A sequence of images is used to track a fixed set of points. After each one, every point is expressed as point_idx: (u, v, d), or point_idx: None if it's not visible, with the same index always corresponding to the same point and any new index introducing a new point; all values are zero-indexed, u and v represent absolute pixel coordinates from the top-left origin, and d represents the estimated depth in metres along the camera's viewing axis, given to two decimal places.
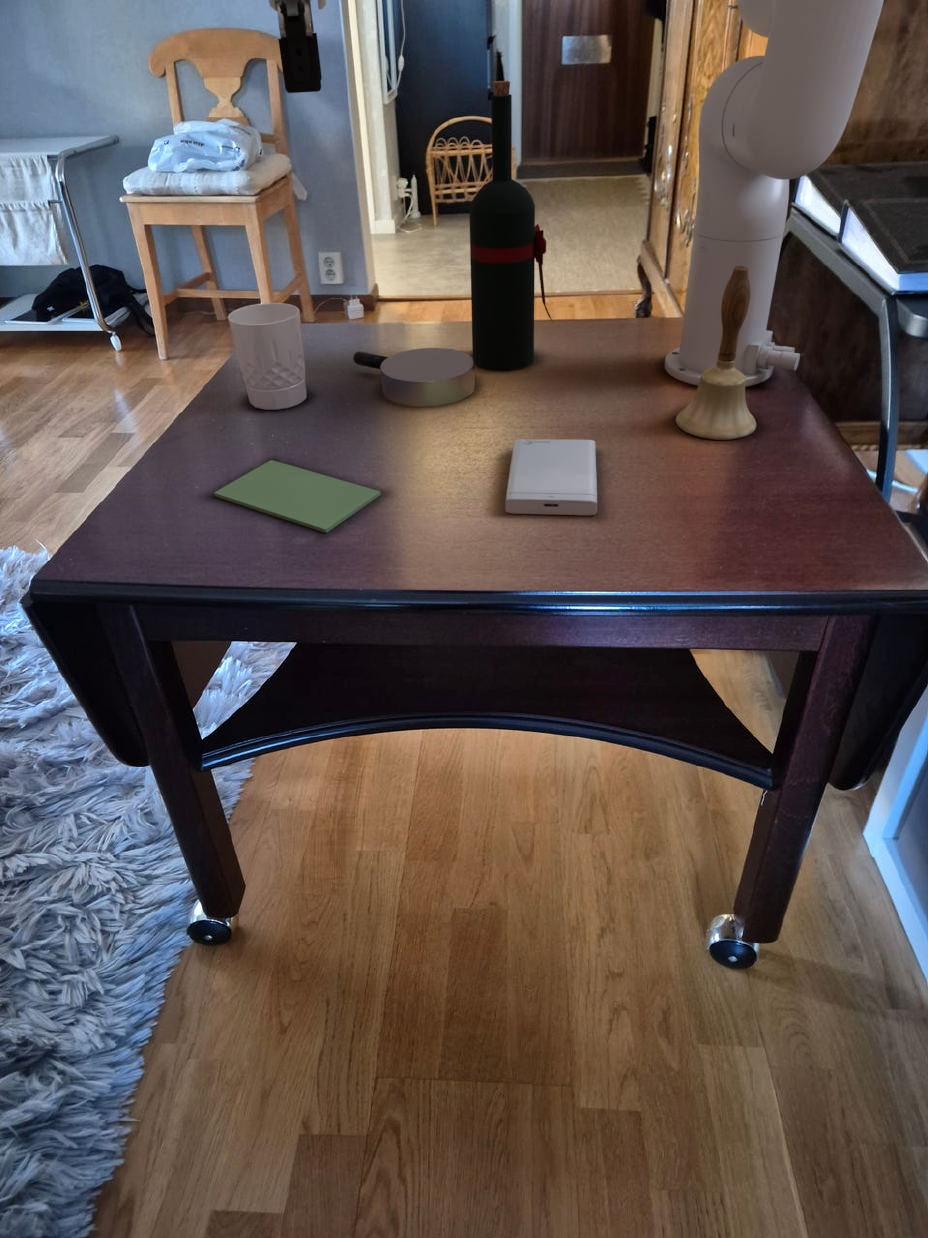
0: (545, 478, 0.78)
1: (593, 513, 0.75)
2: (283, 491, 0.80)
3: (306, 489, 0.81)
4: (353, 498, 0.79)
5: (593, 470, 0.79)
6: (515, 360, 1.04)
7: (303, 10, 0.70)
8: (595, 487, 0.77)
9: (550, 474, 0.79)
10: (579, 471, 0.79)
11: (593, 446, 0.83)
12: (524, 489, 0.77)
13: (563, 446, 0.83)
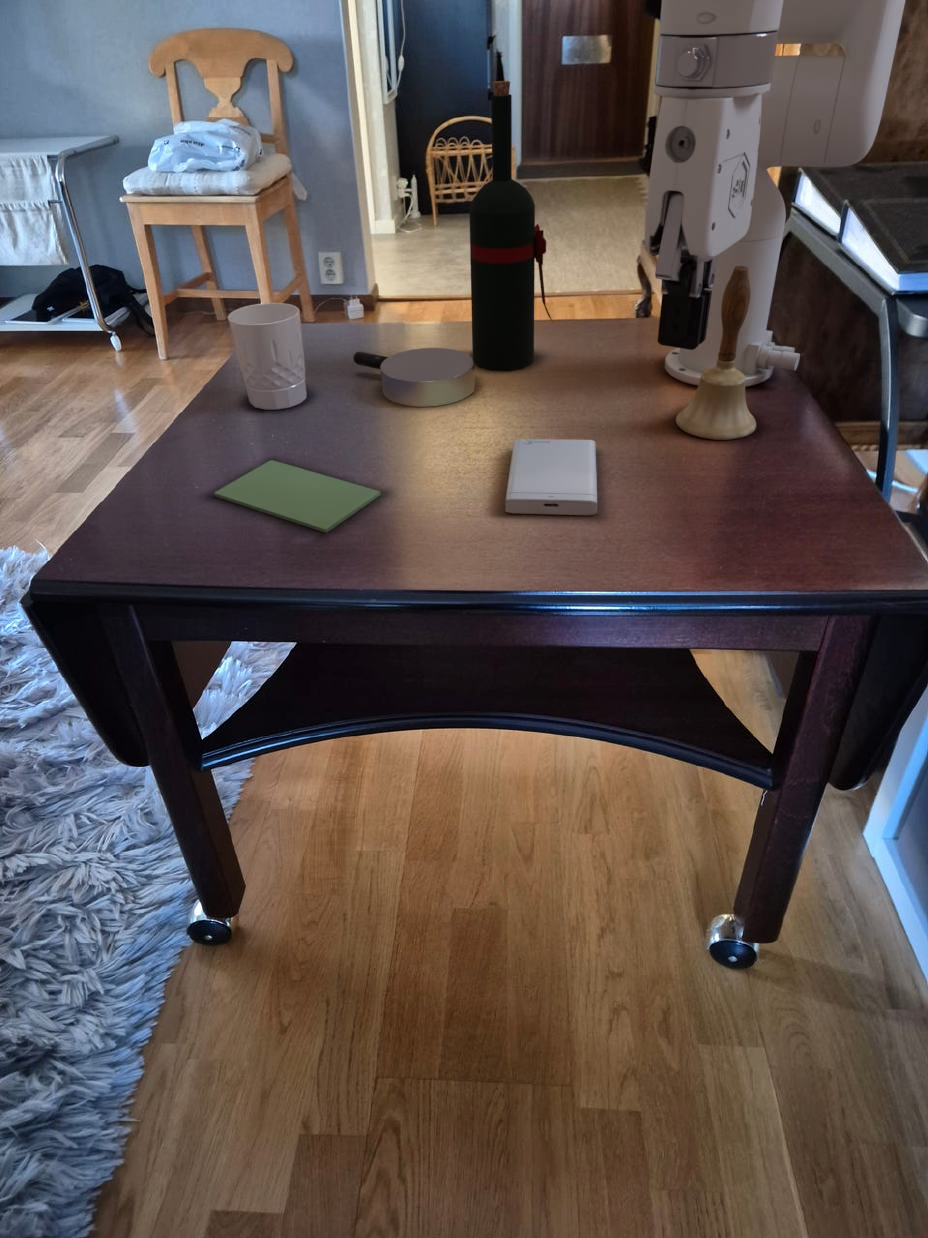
0: (545, 478, 0.78)
1: (593, 513, 0.75)
2: (283, 491, 0.80)
3: (306, 489, 0.81)
4: (353, 498, 0.79)
5: (593, 470, 0.79)
6: (515, 360, 1.04)
7: (686, 276, 0.61)
8: (595, 487, 0.77)
9: (550, 474, 0.79)
10: (579, 470, 0.79)
11: (593, 446, 0.83)
12: (524, 489, 0.77)
13: (563, 446, 0.83)
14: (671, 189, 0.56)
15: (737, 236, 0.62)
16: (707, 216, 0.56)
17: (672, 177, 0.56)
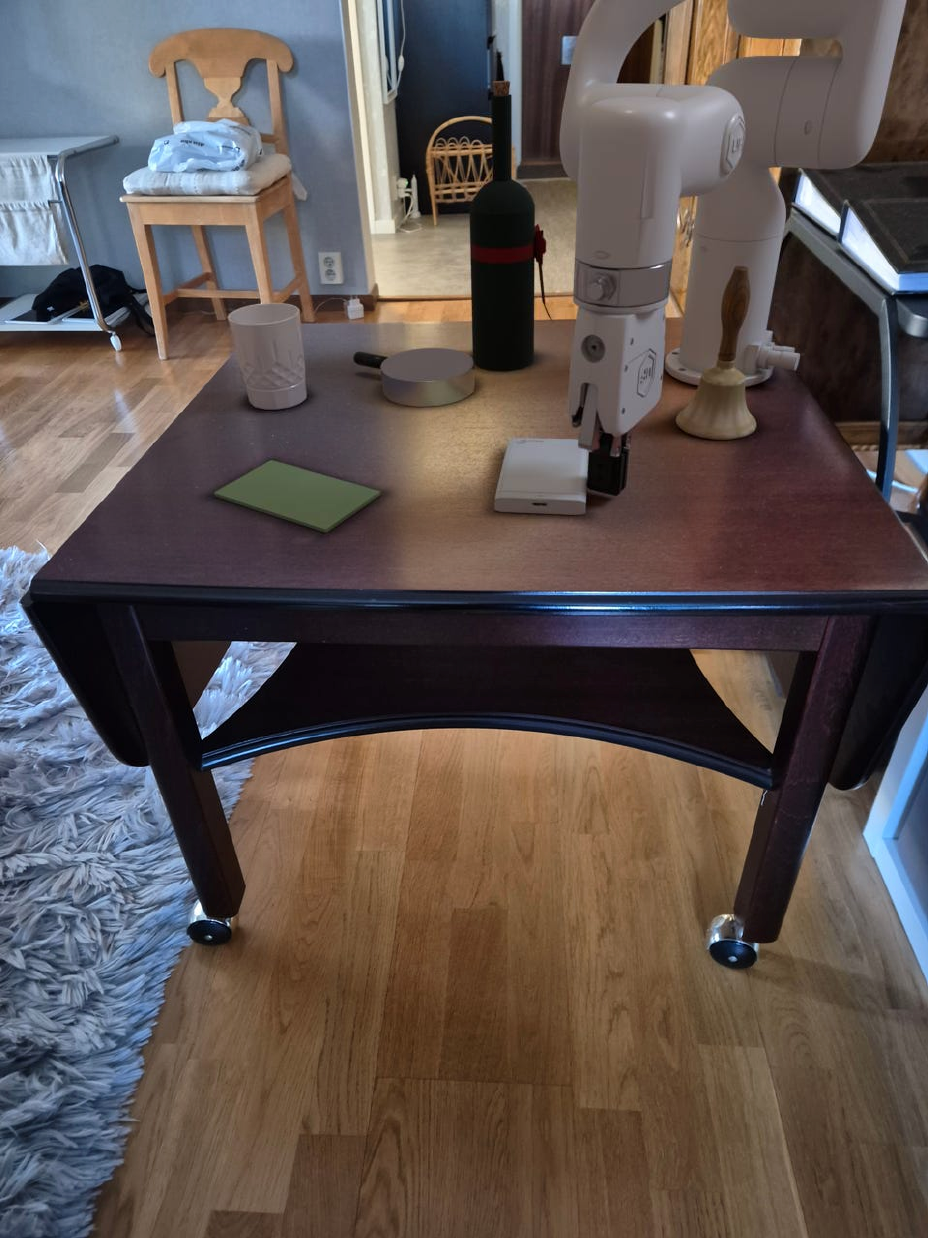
0: (535, 477, 0.78)
1: (581, 513, 0.75)
2: (283, 491, 0.80)
3: (306, 489, 0.81)
4: (353, 498, 0.79)
5: (584, 470, 0.79)
6: (515, 360, 1.04)
7: (605, 443, 0.72)
8: (584, 487, 0.77)
9: (541, 474, 0.79)
10: (570, 470, 0.79)
11: None
12: (514, 488, 0.77)
13: (556, 446, 0.83)
14: (587, 382, 0.67)
15: (648, 408, 0.73)
16: (617, 405, 0.67)
17: (587, 373, 0.67)
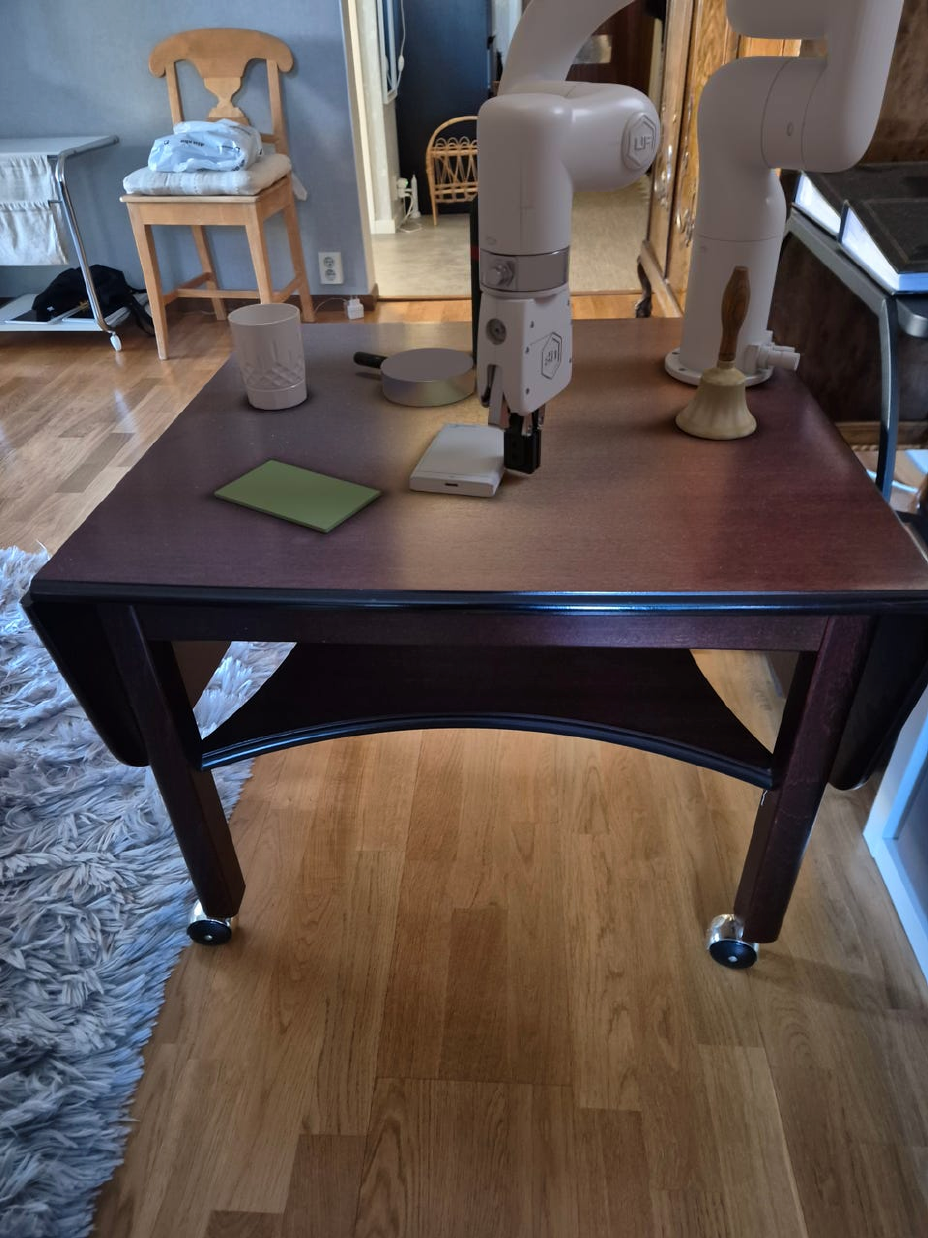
0: (454, 459, 0.82)
1: (490, 495, 0.79)
2: (283, 491, 0.80)
3: (306, 489, 0.81)
4: (353, 498, 0.79)
5: None
6: None
7: (515, 423, 0.75)
8: (497, 471, 0.80)
9: (461, 456, 0.82)
10: (489, 454, 0.82)
11: None
12: (430, 468, 0.81)
13: (486, 431, 0.87)
14: (492, 363, 0.71)
15: (557, 389, 0.76)
16: (520, 385, 0.71)
17: (492, 355, 0.71)
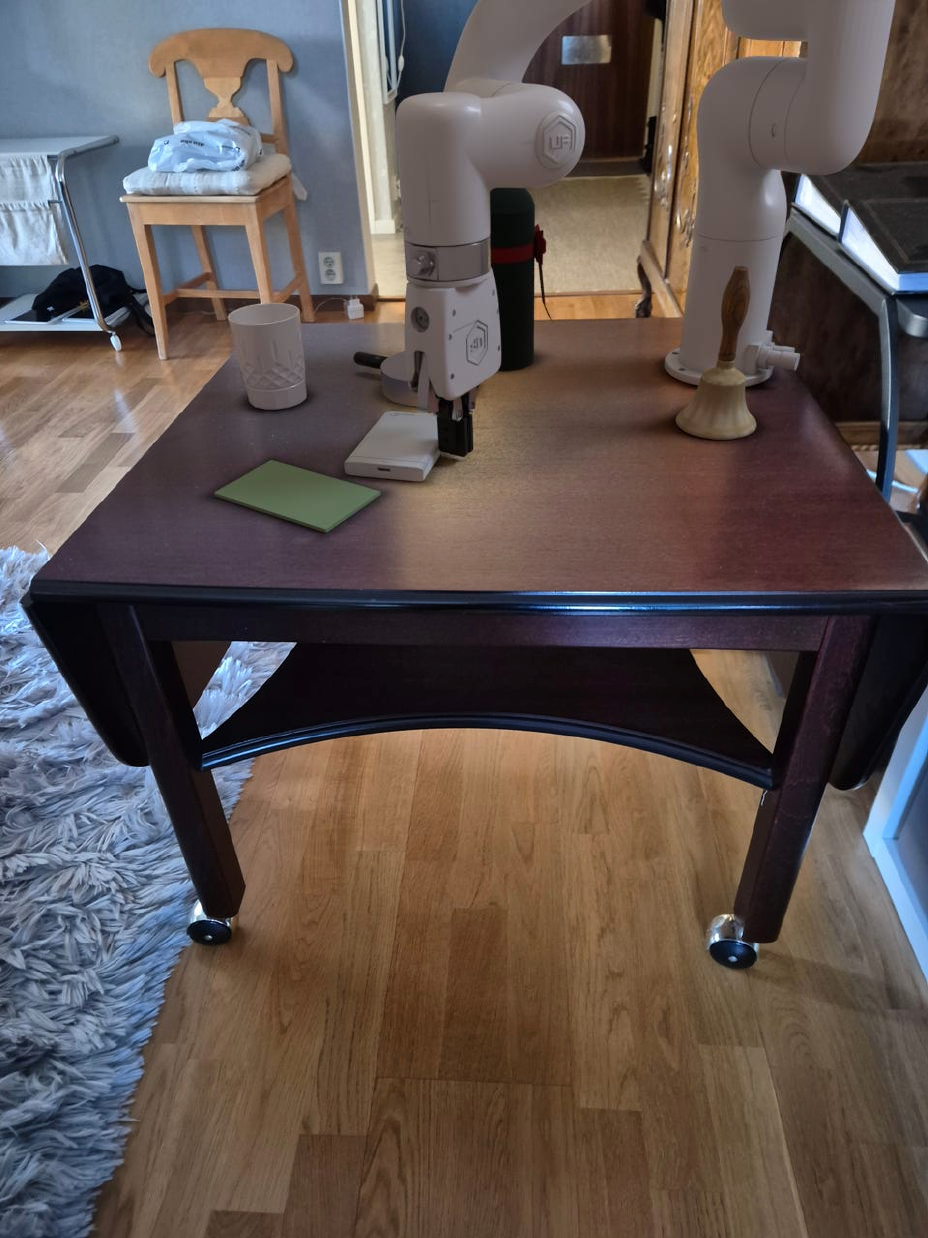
0: (389, 445, 0.85)
1: (421, 480, 0.82)
2: (283, 491, 0.80)
3: (306, 489, 0.81)
4: (353, 498, 0.79)
5: (437, 441, 0.85)
6: (515, 360, 1.04)
7: (444, 407, 0.79)
8: (429, 456, 0.83)
9: (396, 443, 0.85)
10: (423, 441, 0.85)
11: None
12: (365, 454, 0.84)
13: (424, 419, 0.90)
14: (418, 349, 0.75)
15: (485, 375, 0.80)
16: (445, 370, 0.74)
17: (417, 341, 0.74)
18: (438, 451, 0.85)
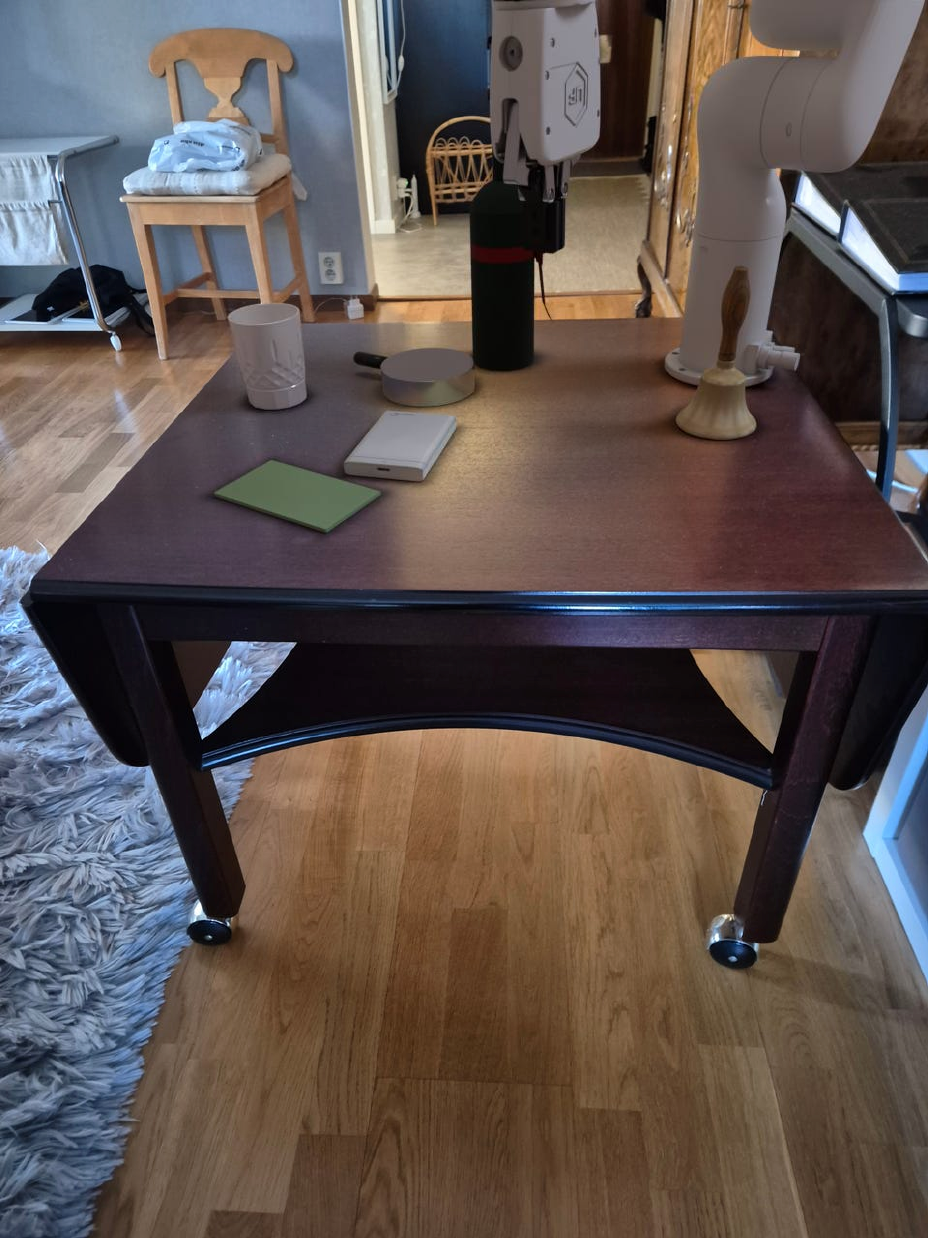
0: (389, 445, 0.85)
1: (420, 479, 0.82)
2: (283, 491, 0.80)
3: (306, 489, 0.81)
4: (353, 498, 0.79)
5: (437, 441, 0.85)
6: (515, 360, 1.04)
7: (535, 181, 0.66)
8: (429, 456, 0.83)
9: (395, 443, 0.85)
10: (423, 441, 0.85)
11: (451, 421, 0.89)
12: (365, 453, 0.84)
13: (423, 419, 0.90)
14: (507, 97, 0.62)
15: (583, 144, 0.67)
16: (540, 121, 0.62)
17: (507, 85, 0.61)
18: (438, 451, 0.85)
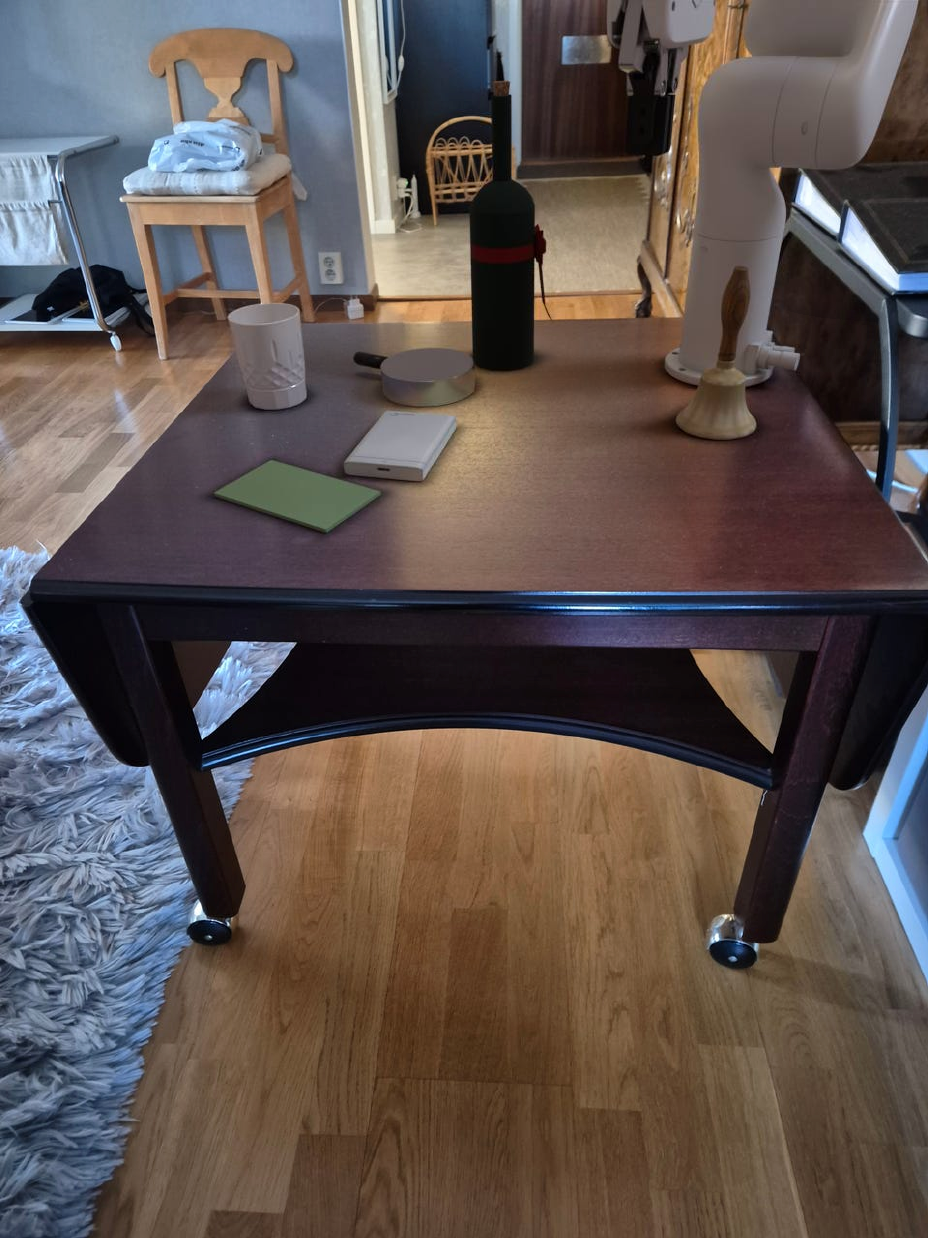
0: (389, 445, 0.85)
1: (420, 479, 0.82)
2: (283, 491, 0.80)
3: (306, 489, 0.81)
4: (353, 498, 0.79)
5: (437, 441, 0.85)
6: (515, 360, 1.04)
7: (650, 68, 0.61)
8: (429, 456, 0.83)
9: (395, 443, 0.85)
10: (423, 441, 0.85)
11: (451, 421, 0.89)
12: (365, 453, 0.84)
13: (423, 419, 0.90)
14: None
15: (700, 32, 0.62)
16: None
17: None
18: (438, 451, 0.85)
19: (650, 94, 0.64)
